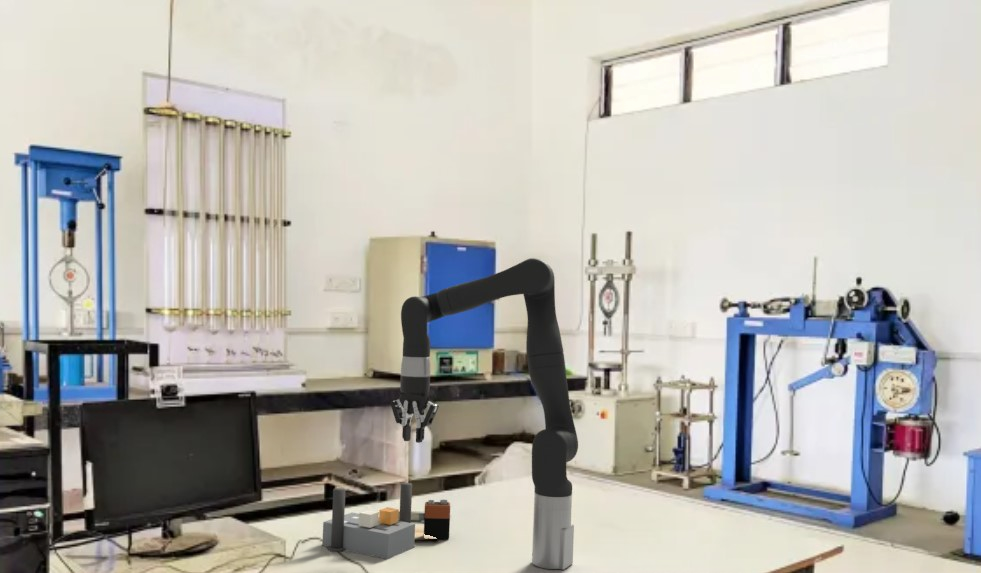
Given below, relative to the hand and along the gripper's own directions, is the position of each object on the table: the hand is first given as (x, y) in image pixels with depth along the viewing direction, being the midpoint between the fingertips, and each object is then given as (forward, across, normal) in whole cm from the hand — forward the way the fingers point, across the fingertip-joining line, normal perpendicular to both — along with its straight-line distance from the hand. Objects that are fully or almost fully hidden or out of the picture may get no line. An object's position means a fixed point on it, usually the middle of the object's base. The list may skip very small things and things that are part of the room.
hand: (412, 441), depth 214 cm
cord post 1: (+27, +14, +12) cm, 33 cm away
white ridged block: (+21, +7, +8) cm, 23 cm away
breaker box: (+27, +9, +5) cm, 29 cm away
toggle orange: (+21, +4, +3) cm, 21 cm away
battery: (+27, -1, -12) cm, 30 cm away
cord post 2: (+27, +4, -4) cm, 28 cm away
